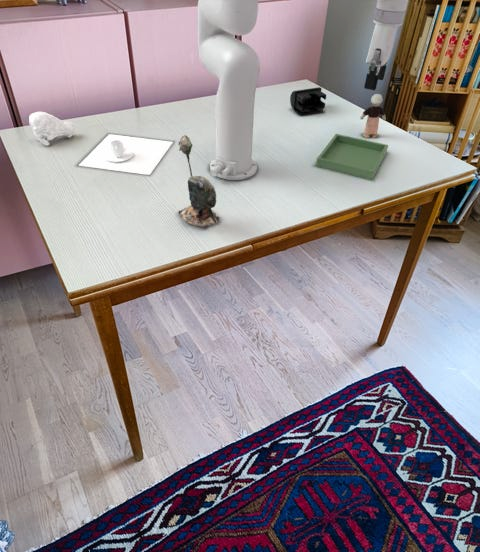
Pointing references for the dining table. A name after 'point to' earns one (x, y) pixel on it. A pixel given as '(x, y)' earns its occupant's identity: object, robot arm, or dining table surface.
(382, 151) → the tray
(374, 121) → the grandmother figurine
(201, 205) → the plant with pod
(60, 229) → the dining table surface
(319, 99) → the end cap
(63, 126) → the white animal figurine
